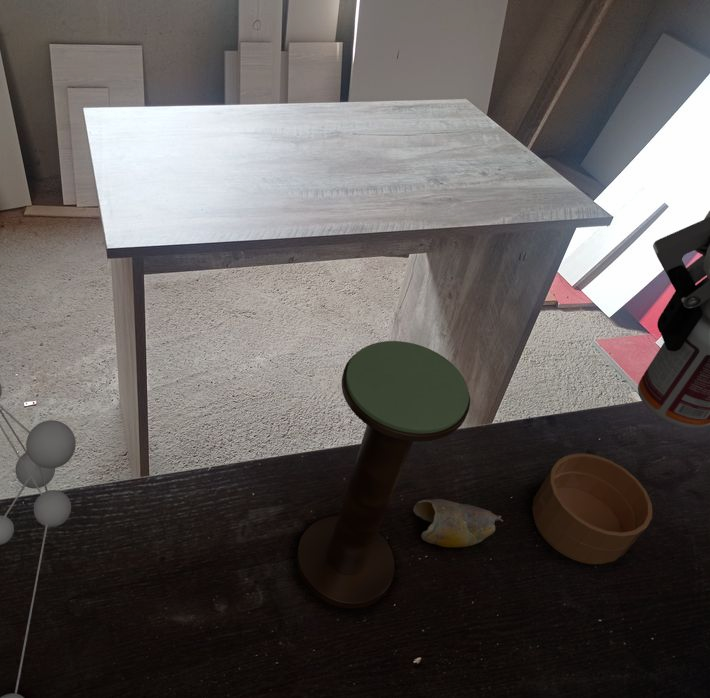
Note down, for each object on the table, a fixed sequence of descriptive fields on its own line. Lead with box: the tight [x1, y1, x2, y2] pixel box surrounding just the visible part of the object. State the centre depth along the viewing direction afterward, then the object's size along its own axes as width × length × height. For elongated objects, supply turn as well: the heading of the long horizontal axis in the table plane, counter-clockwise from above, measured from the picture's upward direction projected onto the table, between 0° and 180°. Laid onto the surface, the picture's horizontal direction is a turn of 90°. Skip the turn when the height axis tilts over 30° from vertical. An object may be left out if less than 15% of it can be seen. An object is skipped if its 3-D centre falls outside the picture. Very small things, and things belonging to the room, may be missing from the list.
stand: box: [296, 354, 471, 609], centre depth 59 cm, size 9×9×24 cm
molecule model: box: [0, 383, 77, 698], centre depth 57 cm, size 14×25×18 cm, turn 172°
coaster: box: [346, 340, 470, 434], centre depth 50 cm, size 9×9×1 cm
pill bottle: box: [637, 298, 710, 429], centre depth 55 cm, size 6×6×11 cm
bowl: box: [531, 452, 653, 565], centre depth 71 cm, size 9×9×6 cm
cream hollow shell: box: [412, 498, 504, 548], centre depth 69 cm, size 8×4×5 cm, turn 103°
